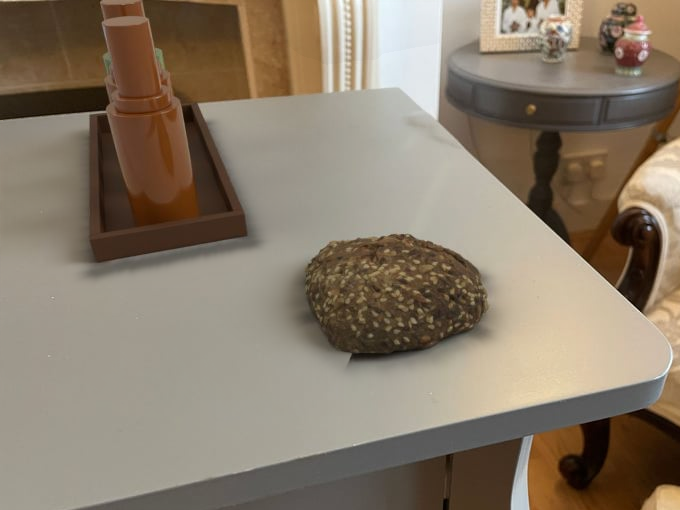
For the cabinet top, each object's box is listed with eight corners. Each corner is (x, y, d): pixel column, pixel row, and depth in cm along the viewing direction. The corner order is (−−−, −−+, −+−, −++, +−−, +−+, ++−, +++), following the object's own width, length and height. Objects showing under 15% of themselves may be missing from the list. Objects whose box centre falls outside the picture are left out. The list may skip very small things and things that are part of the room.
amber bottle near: (122, 233, 53) (67, 27, 44) (157, 203, 58) (113, 11, 49) (181, 240, 52) (138, 31, 43) (212, 210, 57) (179, 14, 48)
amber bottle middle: (118, 193, 60) (70, 5, 51) (150, 169, 64) (111, -7, 55) (171, 199, 58) (132, 8, 50) (200, 174, 63) (168, -5, 54)
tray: (248, 241, 53) (244, 213, 52) (98, 269, 50) (89, 239, 48) (200, 123, 76) (196, 101, 75) (95, 137, 73) (89, 114, 71)
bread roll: (316, 369, 40) (310, 303, 37) (300, 264, 50) (294, 206, 48) (514, 343, 42) (523, 279, 39) (460, 248, 52) (464, 191, 49)
